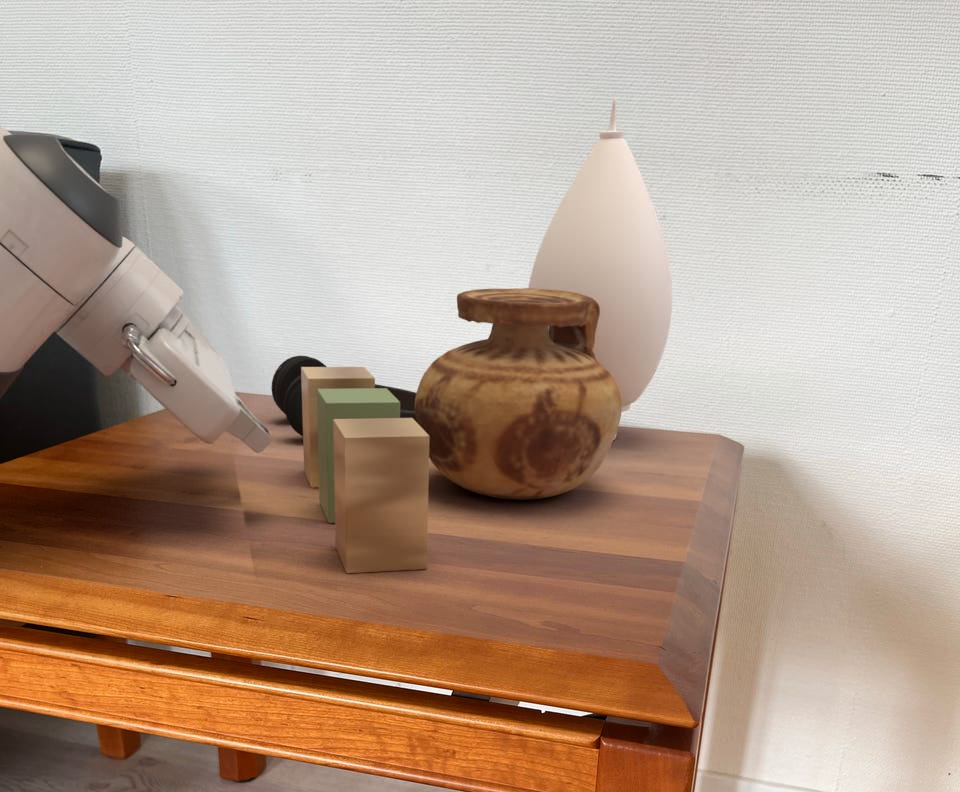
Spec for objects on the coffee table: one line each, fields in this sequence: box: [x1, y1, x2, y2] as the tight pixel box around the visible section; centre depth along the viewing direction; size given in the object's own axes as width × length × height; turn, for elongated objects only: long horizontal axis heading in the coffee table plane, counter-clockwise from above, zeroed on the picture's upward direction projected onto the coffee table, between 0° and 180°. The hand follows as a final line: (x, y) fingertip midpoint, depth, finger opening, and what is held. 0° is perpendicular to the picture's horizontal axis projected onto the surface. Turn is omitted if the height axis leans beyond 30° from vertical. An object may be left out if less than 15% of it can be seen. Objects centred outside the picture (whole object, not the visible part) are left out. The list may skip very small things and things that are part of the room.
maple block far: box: [301, 366, 376, 489], centre depth 96 cm, size 6×6×10 cm
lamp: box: [527, 97, 673, 436], centre depth 112 cm, size 16×16×35 cm
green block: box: [317, 388, 400, 524], centre depth 86 cm, size 6×6×10 cm
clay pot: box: [415, 287, 622, 501], centre depth 94 cm, size 19×19×20 cm
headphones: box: [271, 355, 417, 437], centre depth 117 cm, size 17×7×20 cm
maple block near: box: [333, 418, 430, 574], centre depth 76 cm, size 6×6×10 cm
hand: (264, 443), depth 84 cm, fingers closed
